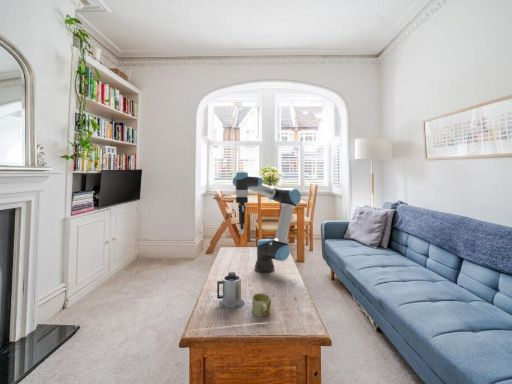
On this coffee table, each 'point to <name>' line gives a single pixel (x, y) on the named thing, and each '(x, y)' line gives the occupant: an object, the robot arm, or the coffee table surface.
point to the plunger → (231, 275)
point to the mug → (261, 304)
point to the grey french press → (230, 291)
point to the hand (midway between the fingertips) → (241, 233)
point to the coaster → (231, 308)
